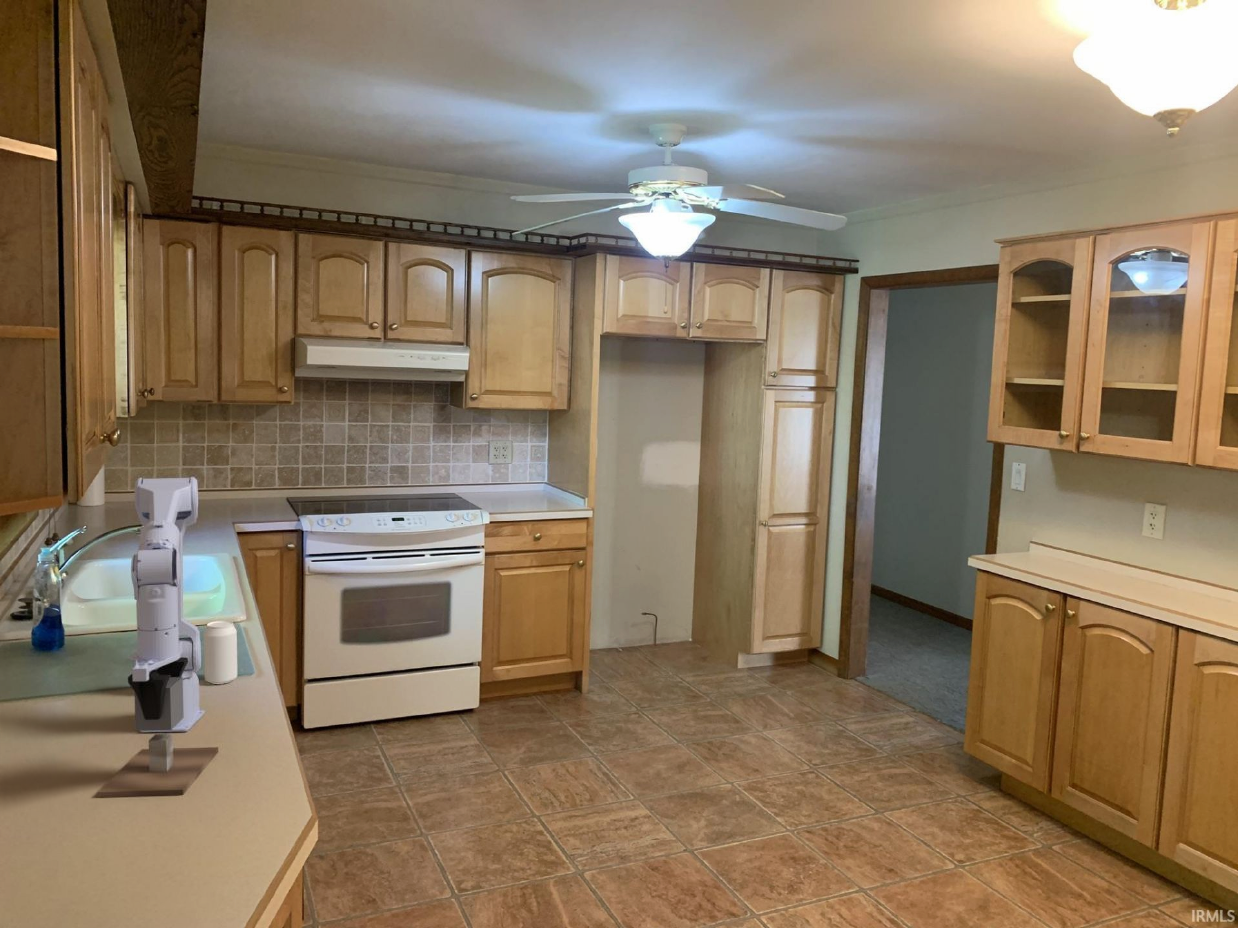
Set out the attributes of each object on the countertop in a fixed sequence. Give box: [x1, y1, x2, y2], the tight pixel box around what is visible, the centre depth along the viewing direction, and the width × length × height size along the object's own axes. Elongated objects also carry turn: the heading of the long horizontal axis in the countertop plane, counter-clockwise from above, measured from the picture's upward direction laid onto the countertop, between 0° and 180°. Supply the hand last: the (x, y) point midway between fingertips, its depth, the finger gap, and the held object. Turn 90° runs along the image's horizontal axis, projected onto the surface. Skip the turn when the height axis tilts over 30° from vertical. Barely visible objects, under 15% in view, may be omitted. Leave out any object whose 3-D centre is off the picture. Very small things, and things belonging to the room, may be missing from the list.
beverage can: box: [203, 620, 238, 683], centre depth 187 cm, size 6×6×12 cm
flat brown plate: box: [97, 733, 219, 798], centre depth 143 cm, size 16×12×6 cm
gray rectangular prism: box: [133, 677, 184, 732], centre depth 143 cm, size 5×5×7 cm
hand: (160, 712), depth 143 cm, fingers closed on gray rectangular prism, 5 cm apart
